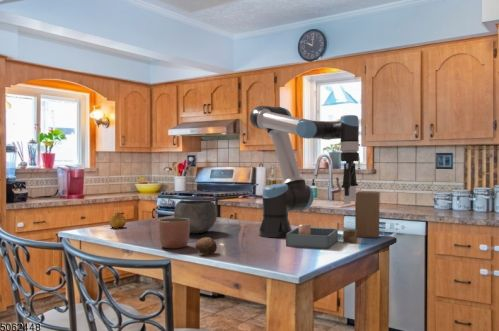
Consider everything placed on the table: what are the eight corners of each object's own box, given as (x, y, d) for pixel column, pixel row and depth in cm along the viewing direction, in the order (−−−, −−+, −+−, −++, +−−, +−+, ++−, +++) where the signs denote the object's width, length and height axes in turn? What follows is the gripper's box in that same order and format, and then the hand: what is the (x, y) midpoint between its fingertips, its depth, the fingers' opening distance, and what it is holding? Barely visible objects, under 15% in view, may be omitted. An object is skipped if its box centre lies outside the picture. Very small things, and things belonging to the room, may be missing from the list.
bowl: (165, 234, 208) (165, 202, 208) (188, 228, 227) (187, 199, 227) (204, 237, 200) (204, 204, 200) (223, 230, 219) (223, 200, 219)
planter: (175, 251, 170) (175, 222, 170) (152, 248, 177) (151, 220, 177) (196, 245, 181) (196, 219, 180) (173, 243, 187) (173, 217, 187)
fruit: (122, 224, 225) (123, 210, 229) (106, 226, 225) (107, 211, 229) (126, 230, 232) (128, 216, 236) (111, 232, 232) (112, 218, 236)
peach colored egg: (297, 242, 185) (297, 225, 185) (300, 240, 190) (300, 223, 189) (308, 242, 183) (308, 225, 183) (312, 240, 188) (312, 224, 187)
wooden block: (379, 235, 205) (379, 191, 205) (378, 238, 196) (378, 193, 195) (357, 233, 208) (357, 191, 208) (355, 237, 199) (355, 192, 199)
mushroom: (195, 242, 170) (200, 230, 167) (215, 250, 171) (220, 238, 168) (190, 256, 163) (196, 244, 160) (210, 264, 164) (216, 252, 161)
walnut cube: (343, 242, 187) (343, 230, 187) (345, 240, 191) (345, 229, 191) (355, 243, 185) (355, 231, 185) (357, 241, 190) (357, 229, 189)
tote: (286, 246, 179) (285, 233, 179) (298, 238, 197) (298, 227, 197) (328, 249, 173) (328, 236, 173) (337, 240, 191) (337, 229, 191)
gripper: (353, 151, 175) (354, 205, 175) (363, 152, 198) (363, 200, 198) (334, 151, 177) (335, 204, 178) (346, 152, 201) (346, 199, 201)
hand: (350, 202), depth 188 cm, fingers open, 13 cm apart
